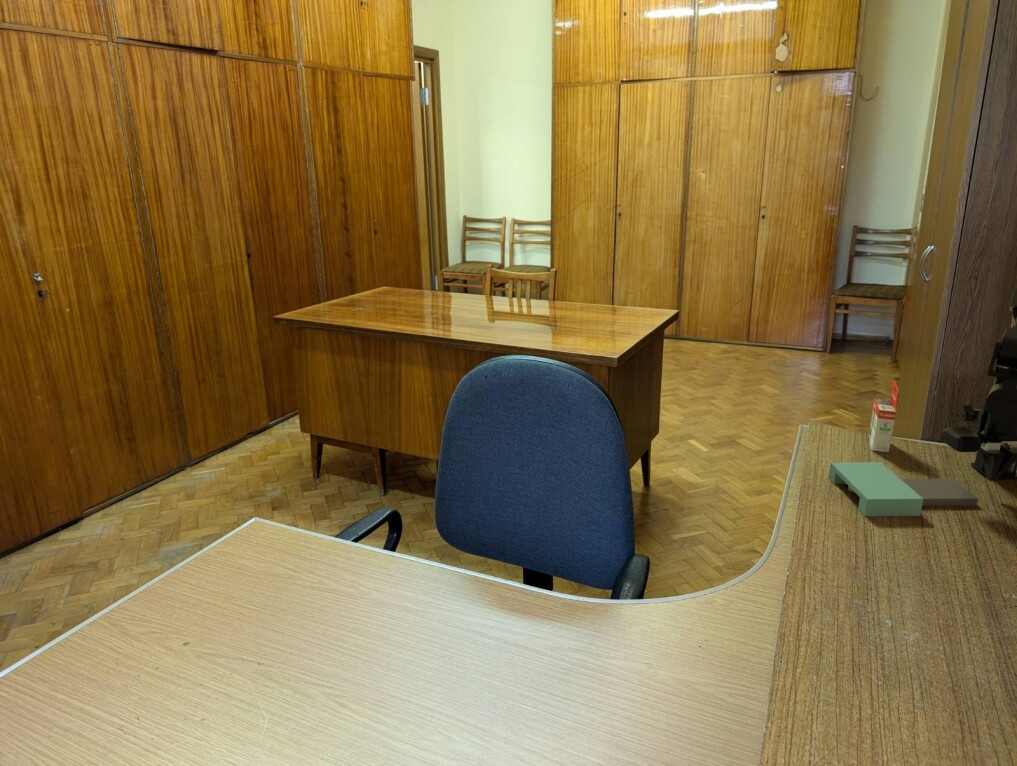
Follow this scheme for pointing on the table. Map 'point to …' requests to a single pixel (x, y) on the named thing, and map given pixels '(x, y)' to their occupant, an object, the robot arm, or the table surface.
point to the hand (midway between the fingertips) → (990, 480)
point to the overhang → (877, 489)
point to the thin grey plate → (941, 492)
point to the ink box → (883, 421)
